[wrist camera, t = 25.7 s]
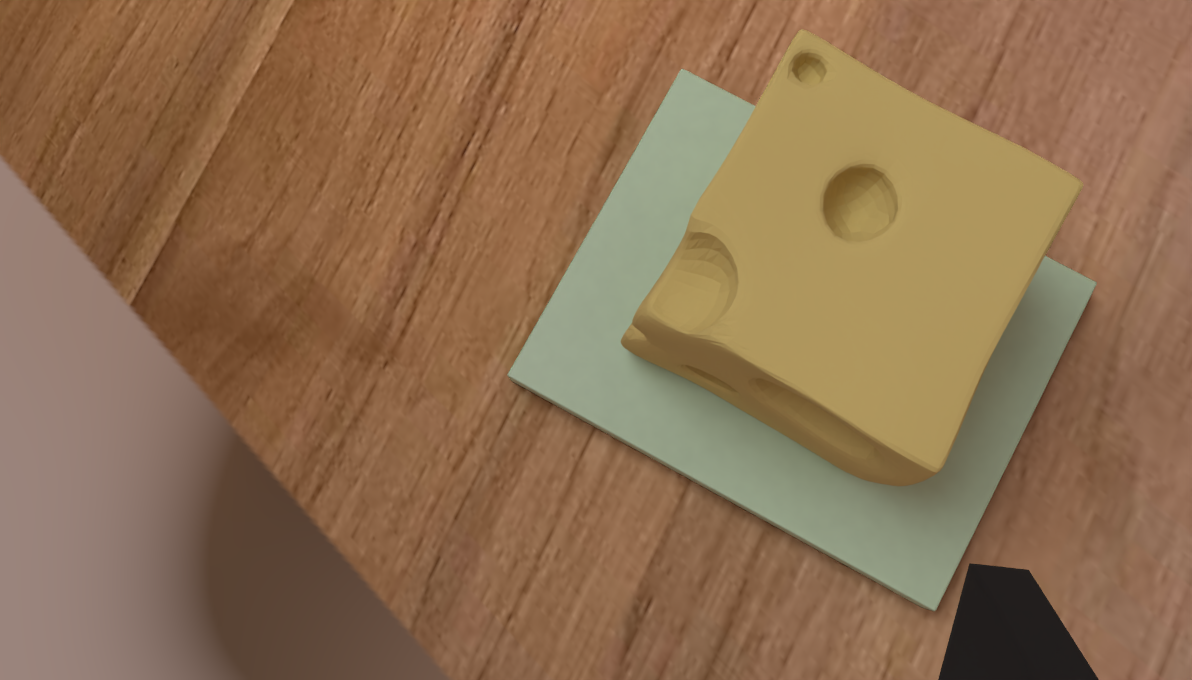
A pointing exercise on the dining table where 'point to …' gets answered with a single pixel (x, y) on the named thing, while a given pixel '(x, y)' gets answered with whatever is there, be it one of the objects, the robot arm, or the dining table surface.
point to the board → (736, 439)
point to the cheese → (853, 266)
